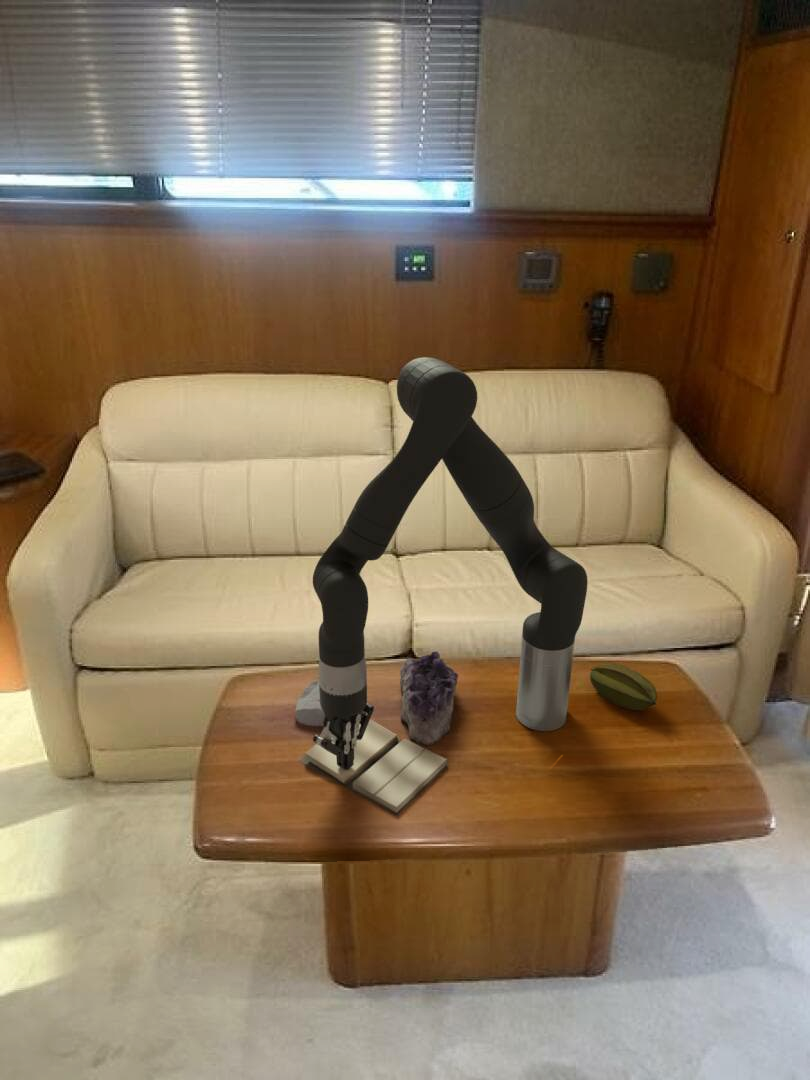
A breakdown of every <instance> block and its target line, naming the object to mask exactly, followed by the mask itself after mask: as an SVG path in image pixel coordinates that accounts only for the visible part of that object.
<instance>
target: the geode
mask: <svg viewBox="0 0 810 1080" xmlns="http://www.w3.org/2000/svg"><path fill="white" fill-rule="evenodd" d="M440 656H441V655H440V653H439V651H432V652H431V653H430V654H426V655H422V656H421V657H420V658H417V659H414V658H411V657H410V658H406V659H405V661H404V663H403V664H402V666H401V668H400V670H399V676H400V681H399V685H400V691H401V693H402V699H401V711H400V712H401V714H400V721H401V722H403V723H405V724H407V726H408V736H409V739H410V741H414V742H416V743H418V744H420V746H421V745H422V746H426V747H431V746H433V745H434V744H436V743H438V742H439V740H441V739H442V738H444V736H446V735H447V734H448V733H449V732H450V727H451V723H452V713H453V712H454V702H455V701H454V700H455V694H456V690H457V689H456V687H457V685H458V678H459V674H458V673H457V672H455V671H454V669H453V668H451V667H450V666H447V665H446V663H445V662H444V658H441V657H440Z"/></svg>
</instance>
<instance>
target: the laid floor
mask: <svg viewBox="0 0 810 1080" xmlns="http://www.w3.org/2000/svg"><path fill="white" fill-rule="evenodd" d="M298 762H299V763H301V764H303V765H304V766H307V767H308V768H311V769H312V770H314V771H316V772H317V773H319V774H321V775H323V776H325V777H326V778H328V779H330V780H332V781H333V782H335V783H336V784H338V785H341V786H343V787H344V788H345V789H348V790H350V791H352V793H354V794H357V795H359V796H360V797H361V798H363V799H366V800H367V801H369V802H371V803H373V804H374V805H376V806H378V807H380V808H382V809H383V810H385V811H387V812H389V813H390V814H392V815H394V816H396V817H397V816H398V815H399V814H400V813H401V812H402V811H403V810H404V809H405V808H406V807H407V806H408V805H409V804H410V803H411V802H412V801H414V800H415V799H416V797H418V795H420V793H421V792H423V791H424V790H425V789H426V788H427V787H428V786H429V785H430V784H431V783H432V782H434V780H435V779H436V778H437V777H438V776H439V775H440V774H441V773H443V771H444V770H446V769H447V768H448V766H449V765H450V763H449V762H448V758H445V757H444V756H441V755H440V754H437V753H436V752H432V751H431V750H429V749H427V748H426V747H422V746H421V745H418V744H416V743H415V742H412V740H409V739H406V738H403V739H400V738H398V741H397V742H396V743H394V744H393V745H392V746H391V747H390V748H389V749H387V750H386V751H385V752H384V753H383V754H382V755H380V756H379V757H378V758H377V759H376V760H374V761H373V762H372V763H371V764H370V765H369V766H367V767H366V768H365V769H364V770H363V771H362V772H360V773H359V774H358V775H357V776H356V777H354V778H353V779H352V780H351V781H350V782H349V783H347V784H344V783H343V782H341V781H340V780H338V779H337V778H335V777H334V776H332V775H330V774H329V773H327V772H326V771H324V770H323V769H321V768H320V767H318V766H316V765H315V764H313V763H312V762H310V761H309V760H307V759H306V758H305V756H303V757H302V758H300V760H299V761H298Z"/></svg>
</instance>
